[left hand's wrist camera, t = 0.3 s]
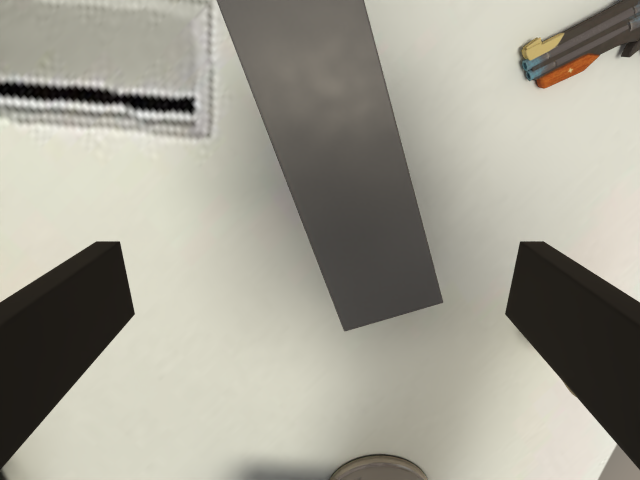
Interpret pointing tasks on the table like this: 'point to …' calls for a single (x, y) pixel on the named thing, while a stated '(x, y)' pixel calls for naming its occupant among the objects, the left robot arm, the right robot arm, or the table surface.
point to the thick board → (338, 150)
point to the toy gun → (583, 44)
